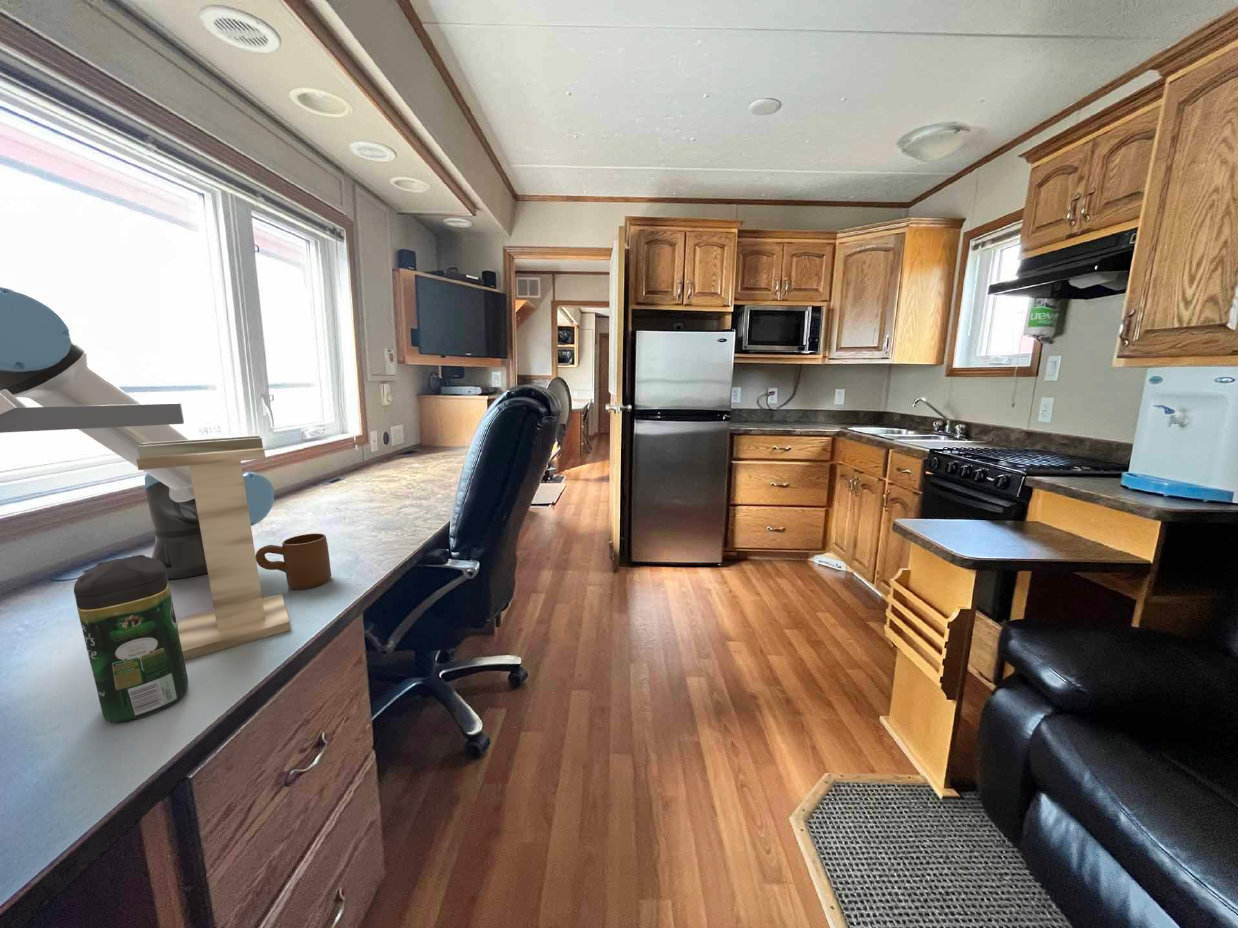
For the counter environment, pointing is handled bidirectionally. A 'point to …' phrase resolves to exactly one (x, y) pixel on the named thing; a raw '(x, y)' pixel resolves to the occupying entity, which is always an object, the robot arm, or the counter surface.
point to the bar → (89, 417)
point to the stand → (222, 543)
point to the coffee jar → (131, 637)
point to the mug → (300, 560)
